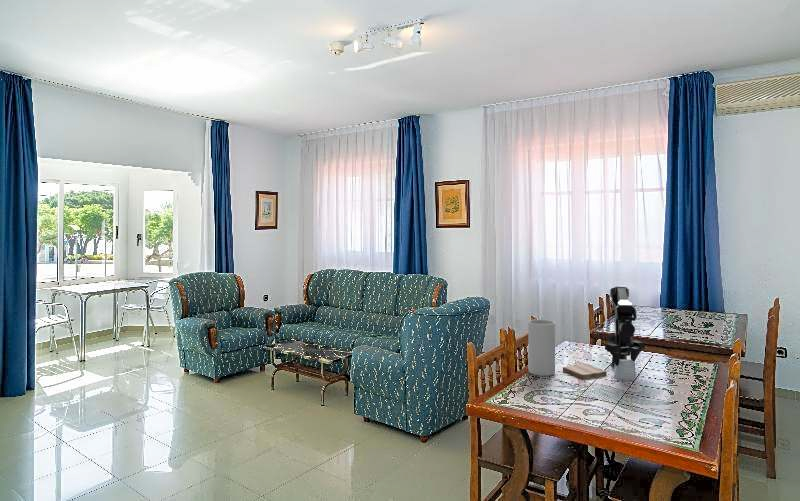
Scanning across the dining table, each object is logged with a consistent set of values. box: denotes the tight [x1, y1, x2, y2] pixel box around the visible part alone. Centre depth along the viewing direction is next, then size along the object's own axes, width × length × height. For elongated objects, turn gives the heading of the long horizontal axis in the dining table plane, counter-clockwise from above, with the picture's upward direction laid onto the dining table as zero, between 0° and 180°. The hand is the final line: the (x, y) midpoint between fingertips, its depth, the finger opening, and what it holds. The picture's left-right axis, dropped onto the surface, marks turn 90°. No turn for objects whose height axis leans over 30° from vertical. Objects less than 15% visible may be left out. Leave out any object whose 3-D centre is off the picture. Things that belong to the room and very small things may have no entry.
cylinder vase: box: [527, 318, 556, 377], centre depth 235 cm, size 12×12×25 cm
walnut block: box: [562, 363, 608, 380], centre depth 233 cm, size 14×14×2 cm
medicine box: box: [614, 359, 636, 381], centre depth 224 cm, size 8×4×9 cm, turn 84°
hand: (624, 364), depth 224 cm, fingers open, 9 cm apart
